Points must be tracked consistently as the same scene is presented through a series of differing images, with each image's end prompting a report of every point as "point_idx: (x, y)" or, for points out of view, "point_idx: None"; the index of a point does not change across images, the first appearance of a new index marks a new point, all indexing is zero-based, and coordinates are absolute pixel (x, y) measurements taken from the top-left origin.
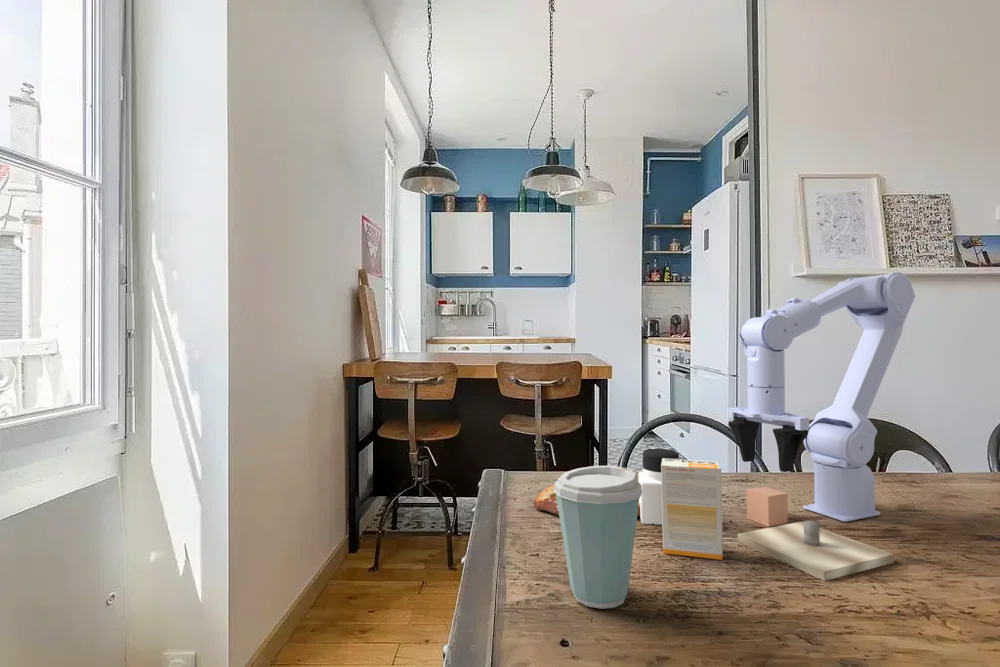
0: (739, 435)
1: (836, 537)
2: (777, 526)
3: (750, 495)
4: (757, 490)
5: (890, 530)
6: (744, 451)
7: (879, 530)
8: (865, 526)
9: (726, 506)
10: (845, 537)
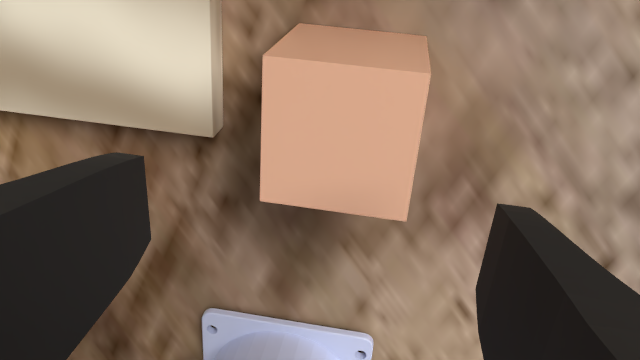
0: (629, 351)
1: (34, 77)
2: None
3: (400, 63)
4: (379, 113)
5: (114, 342)
6: (520, 250)
7: (124, 319)
8: (163, 322)
9: (602, 106)
10: (27, 108)
